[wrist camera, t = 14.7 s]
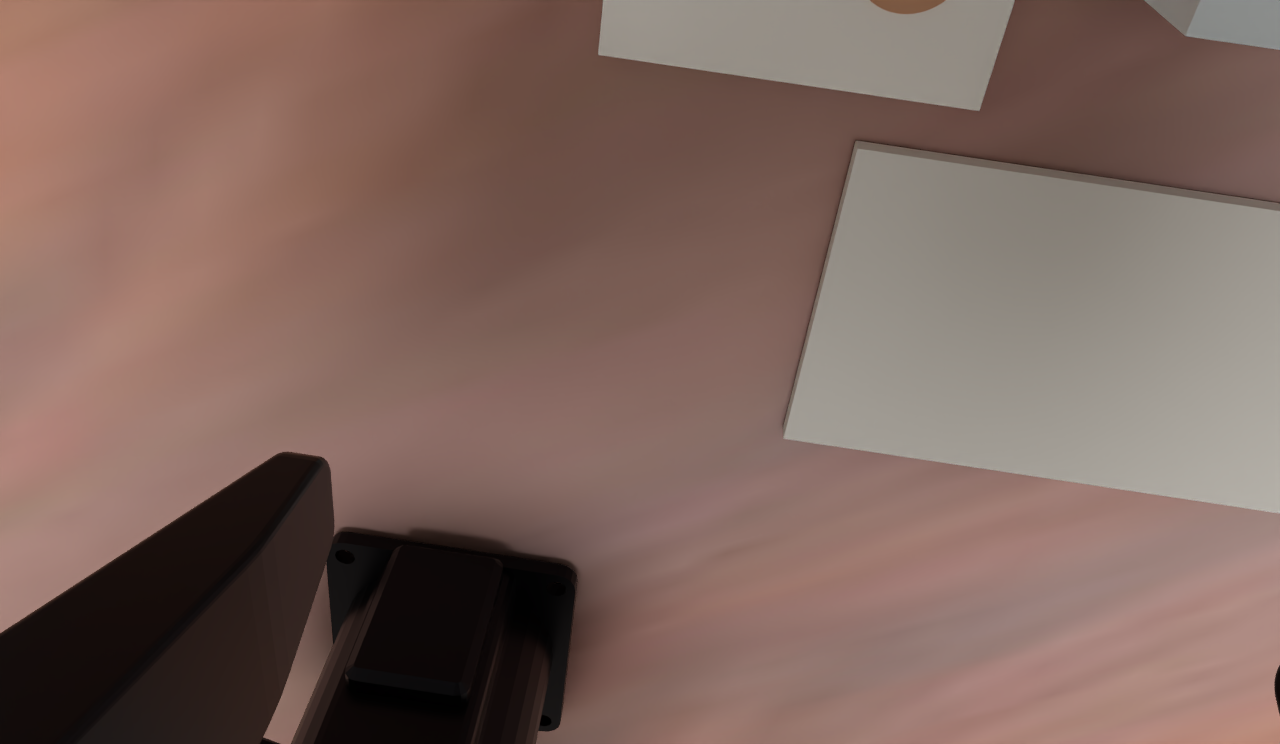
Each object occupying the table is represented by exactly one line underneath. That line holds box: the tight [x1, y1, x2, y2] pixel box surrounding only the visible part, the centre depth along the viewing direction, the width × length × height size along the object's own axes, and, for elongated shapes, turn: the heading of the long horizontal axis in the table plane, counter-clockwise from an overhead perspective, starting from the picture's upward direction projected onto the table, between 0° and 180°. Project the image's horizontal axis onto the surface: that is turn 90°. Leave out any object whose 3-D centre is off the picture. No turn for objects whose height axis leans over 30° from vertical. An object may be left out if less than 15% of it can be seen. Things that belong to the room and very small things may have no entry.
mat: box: [783, 141, 1280, 513], centre depth 21 cm, size 7×15×1 cm, turn 83°
